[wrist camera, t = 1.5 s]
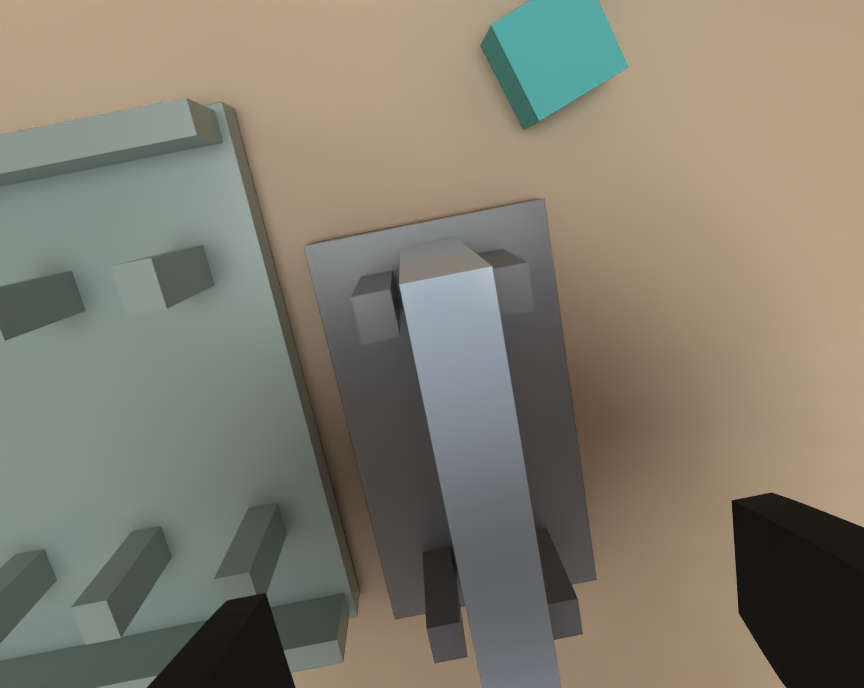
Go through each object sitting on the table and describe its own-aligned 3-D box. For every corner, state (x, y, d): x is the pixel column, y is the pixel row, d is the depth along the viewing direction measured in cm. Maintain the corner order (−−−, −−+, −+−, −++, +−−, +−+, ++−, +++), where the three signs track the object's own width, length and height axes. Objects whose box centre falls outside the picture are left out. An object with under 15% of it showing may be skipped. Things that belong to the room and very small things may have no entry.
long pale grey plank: (516, 580, 17) (576, 781, 11) (469, 589, 17) (504, 795, 11) (455, 237, 14) (492, 266, 9) (400, 248, 14) (399, 285, 9)
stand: (588, 562, 18) (636, 658, 14) (395, 601, 18) (393, 706, 14) (537, 198, 15) (580, 199, 11) (309, 243, 15) (278, 259, 11)
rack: (359, 593, 18) (348, 704, 14) (-62, 677, 18) (-191, 811, 14) (233, 108, 14) (170, 76, 10) (-293, 212, 14) (-553, 218, 10)
